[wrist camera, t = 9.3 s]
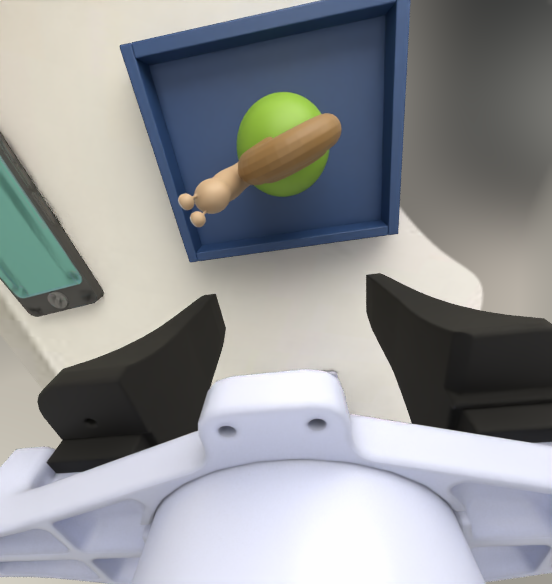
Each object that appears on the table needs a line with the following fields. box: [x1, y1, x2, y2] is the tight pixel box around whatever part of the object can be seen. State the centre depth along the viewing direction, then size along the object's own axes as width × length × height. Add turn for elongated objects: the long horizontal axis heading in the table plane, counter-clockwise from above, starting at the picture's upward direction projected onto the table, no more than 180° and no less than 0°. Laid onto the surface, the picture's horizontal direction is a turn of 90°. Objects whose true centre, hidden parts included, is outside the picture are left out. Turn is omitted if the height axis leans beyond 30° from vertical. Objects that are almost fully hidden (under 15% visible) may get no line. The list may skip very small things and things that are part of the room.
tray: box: [120, 0, 410, 262], centre depth 19 cm, size 15×13×2 cm
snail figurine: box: [178, 92, 341, 227], centre depth 14 cm, size 5×6×12 cm
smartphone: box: [0, 133, 103, 317], centre depth 22 cm, size 7×1×15 cm
